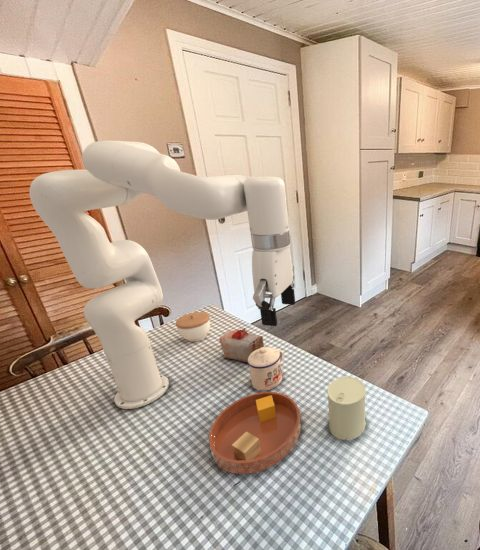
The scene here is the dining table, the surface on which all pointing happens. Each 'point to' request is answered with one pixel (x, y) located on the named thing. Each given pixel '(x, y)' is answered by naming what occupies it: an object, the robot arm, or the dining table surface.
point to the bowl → (255, 433)
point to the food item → (240, 344)
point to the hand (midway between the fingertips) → (279, 313)
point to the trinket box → (194, 326)
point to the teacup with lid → (265, 368)
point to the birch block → (246, 447)
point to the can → (346, 407)
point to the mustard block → (265, 408)
